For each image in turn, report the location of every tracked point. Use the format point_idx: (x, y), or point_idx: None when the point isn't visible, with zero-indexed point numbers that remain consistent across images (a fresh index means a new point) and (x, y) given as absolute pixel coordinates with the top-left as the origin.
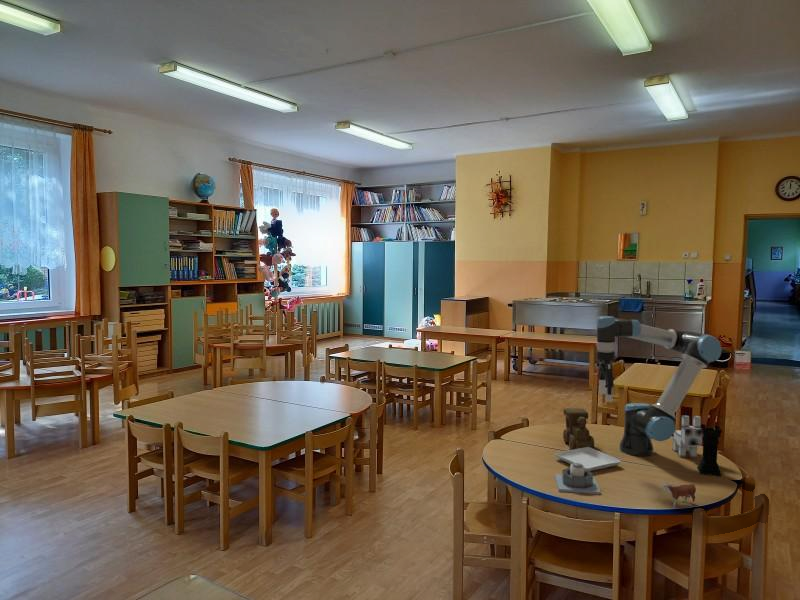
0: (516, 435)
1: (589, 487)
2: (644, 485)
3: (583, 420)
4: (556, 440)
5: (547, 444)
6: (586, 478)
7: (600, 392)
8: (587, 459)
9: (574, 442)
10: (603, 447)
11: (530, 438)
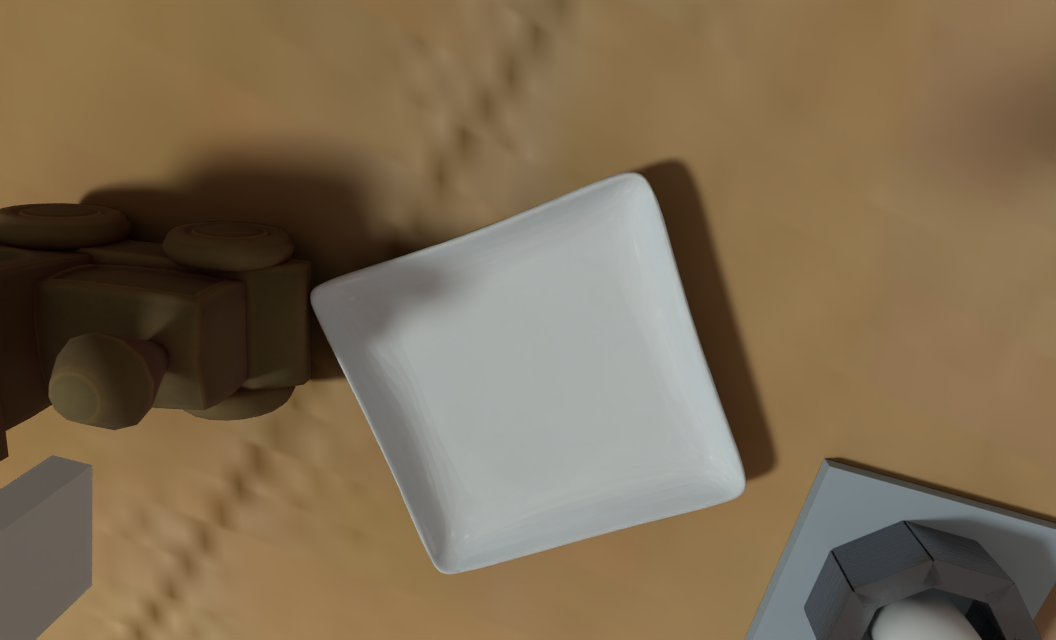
0: None
1: None
2: (1014, 170)
3: (129, 391)
4: None
5: (164, 485)
6: (1040, 636)
7: (63, 595)
8: (488, 360)
9: (278, 399)
10: (194, 103)
11: None
